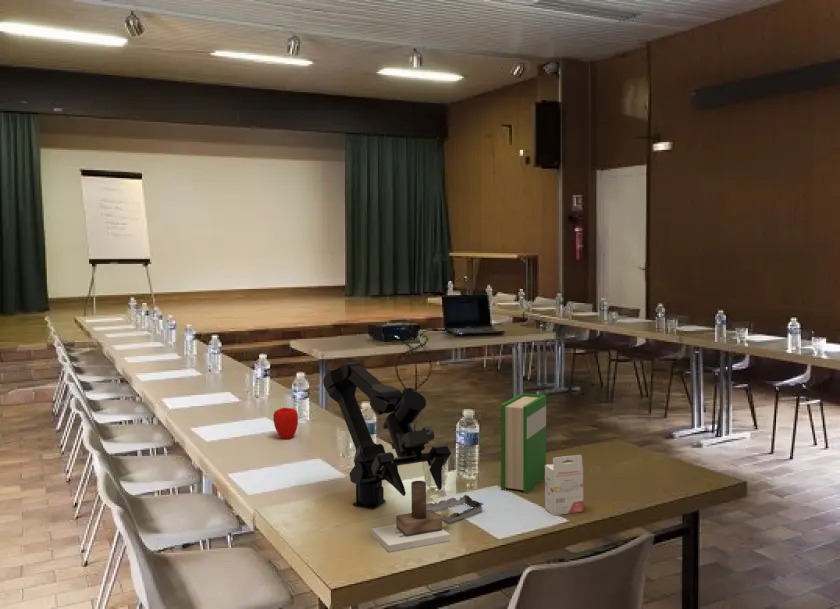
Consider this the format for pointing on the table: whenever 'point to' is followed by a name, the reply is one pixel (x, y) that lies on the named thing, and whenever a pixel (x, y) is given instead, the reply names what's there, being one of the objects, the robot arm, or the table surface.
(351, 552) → the table surface
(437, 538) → the primed board
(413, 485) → the brown wooden peg block
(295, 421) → the apple
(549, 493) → the ink cartridge box
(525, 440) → the hardback book
